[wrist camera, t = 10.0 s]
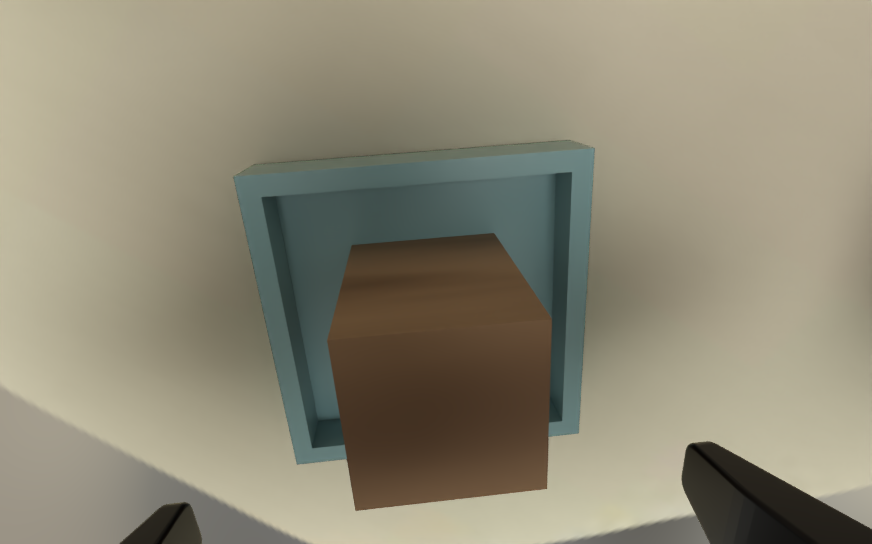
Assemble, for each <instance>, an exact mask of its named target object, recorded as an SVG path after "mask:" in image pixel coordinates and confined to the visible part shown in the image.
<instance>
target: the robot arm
mask: <svg viewBox="0 0 872 544" xmlns="http://www.w3.org/2000/svg"><path fill="white" fill-rule="evenodd" d="M682 485H683V488H684V491H685V493H686V495H687V497H688V499H689V501H690V504H691V506H692V508H693V510H694V512H695V514H696V516H697V518H698V520H699V522H700V524H701V526H702V528H703V530H704V532H705V534H706V536H707V538H708V540H709V542H710V544H872V529H870V528H869V527H867V526H864V525H863V524H861V523H860V522H858V521H856V520H854V519H852V518H850V517H849V516H847V515H845V514H843V513H841V512H839V511H838V510H836V509H834V508H832V507H830V506H828V505H827V504H825V503H823V502H821V501H819V500H818V499H816V498H814V497H812V496H810V495H808V494H807V493H805V492H803V491H801V490H799V489H798V488H796V487H794V486H792V485H790V484H788V483H787V482H785V481H783V480H781V479H779V478H778V477H776V476H774V475H772V474H770V473H768V472H767V471H765V470H763V469H761V468H759V467H757V466H756V465H754V464H752V463H750V462H748V461H747V460H745V459H743V458H741V457H739V456H737V455H736V454H734V453H732V452H730V451H728V450H726V449H725V448H723V447H721V446H719V445H717V444H715V443H713V442H708V441H707V442H698V443H691V444H689V445H688V446H687V448H686V452H685V459H684V465H683V471H682ZM120 544H202V537H201V533H200V530H199V527H198V524H197V521H196V518H195V515H194V512H193V509H192V507H191V505H190V504H188V503H186V502H182V503H174V504H166V505H163V506H162V507H161V508H159V509H158V510H157V511H155V512H154V513H153V514H152V515H151V516H150V517H149V518H148V519H147V520H145V521H144V522H143V523H142V524H141V525H140V526H139V527H138V528H136V529H135V530H134V531H133V532H132V533H131V534H130V535H129V536H127V537H126V538H125V539H124V540H123V541H122V542H121V543H120Z"/></svg>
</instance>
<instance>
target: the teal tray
mask: <svg viewBox="0 0 872 544" xmlns="http://www.w3.org/2000/svg"><path fill="white" fill-rule="evenodd" d="M594 151H595V148H593V147H589V146H586V145H583V144H580V143H577V142H574V141H571V140H565V141H552V142H539V143H527V144H514V145H501V146H488V147H475V148H462V149H449V150H437V151H424V152H411V153H398V154H385V155H372V156H359V157H347V158H334V159H321V160H308V161H295V162H282V163H269V164H256V165H253V166H251V167H249V168H247V169H246V170H244V171H242V172H241V173H239V174H237V175H235V176H234V182H235V186H236V191H237V195H238V200H239V204H240V209H241V213H242V218H243V222H244V227H245V231H246V236H247V240H248V245H249V250H250V254H251V259H252V263H253V268H254V272H255V277H256V281H257V286H258V290H259V295H260V299H261V304H262V308H263V313H264V317H265V322H266V326H267V331H268V336H269V340H270V345H271V349H272V354H273V358H274V363H275V367H276V372H277V376H278V381H279V385H280V390H281V394H282V399H283V403H284V408H285V412H286V417H287V422H288V426H289V431H290V435H291V440H292V444H293V449H294V453H295V458H296V462H297V464H306V463H315V462H324V461H333V460H342V459H347V456H346V450H345V444H344V438H343V432H342V426H341V421H340V415H339V409H338V403H337V397H336V391H335V385H334V379H333V373H332V367H331V361H330V355H329V349H328V343H327V339H328V335H329V331H330V327H331V323H332V319H333V316H334V312H335V308H336V304H337V300H338V296H339V292H340V289H341V285H342V281H343V277H344V273H345V269H346V265H347V261H348V258H349V254H350V250H351V246H352V245H358V244H370V243H382V242H394V241H405V240H417V239H429V238H441V237H452V236H464V235H476V234H488V233H494V234H495V235H496V236H497V238H498V239H499V241H500V242H501V244H502V245H503V247H504V248H505V250H506V251H507V253H508V254H509V256H510V257H511V259H512V260H513V262H514V263H515V265H516V266H517V268H518V269H519V271H520V272H521V274H522V275H523V277H524V278H525V280H526V281H527V283H528V284H529V285H530V287H531V288H532V290H533V291H534V293H535V294H536V296H537V297H538V299H539V300H540V302H541V303H542V305H543V306H544V308H545V309H546V311H547V312H548V314H549V315H550V317H551V318H552V337H551V370H550V404H549V437H550V436H559V435H568V434H577V433H579V418H580V401H581V383H582V365H583V347H584V329H585V311H586V293H587V276H588V258H589V240H590V222H591V204H592V186H593V168H594Z"/></svg>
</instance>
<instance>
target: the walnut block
mask: <svg viewBox="0 0 872 544" xmlns="http://www.w3.org/2000/svg"><path fill="white" fill-rule="evenodd" d="M551 337H552V318H551V317H550V315H549V314H548V312H547V311H546V309H545V308H544V306H543V305H542V303H541V302H540V300H539V299H538V297H537V296H536V294H535V293H534V291H533V290H532V288H531V287H530V285H529V284H528V283H527V281H526V280H525V278H524V277H523V275H522V274H521V272H520V271H519V269H518V268H517V266H516V265H515V263H514V262H513V260H512V259H511V257H510V256H509V254H508V253H507V251H506V250H505V248H504V247H503V245H502V244H501V242H500V241H499V239H498V238H497V236H496V235H495V234H494V233H488V234H476V235H464V236H452V237H441V238H429V239H417V240H405V241H394V242H382V243H370V244H358V245H352V246H351V250H350V254H349V258H348V261H347V265H346V269H345V273H344V277H343V281H342V285H341V289H340V292H339V296H338V300H337V304H336V308H335V312H334V316H333V319H332V323H331V327H330V331H329V335H328V339H327V343H328V349H329V355H330V361H331V367H332V373H333V379H334V385H335V391H336V397H337V403H338V409H339V415H340V421H341V426H342V432H343V438H344V444H345V450H346V456H347V462H348V468H349V474H350V480H351V486H352V492H353V498H354V504H355V510H356V511H358V510H366V509H375V508H384V507H393V506H401V505H410V504H419V503H427V502H436V501H445V500H454V499H462V498H471V497H480V496H489V495H497V494H506V493H515V492H523V491H532V490H541V489H547V471H548V437H549V404H550V370H551Z"/></svg>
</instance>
